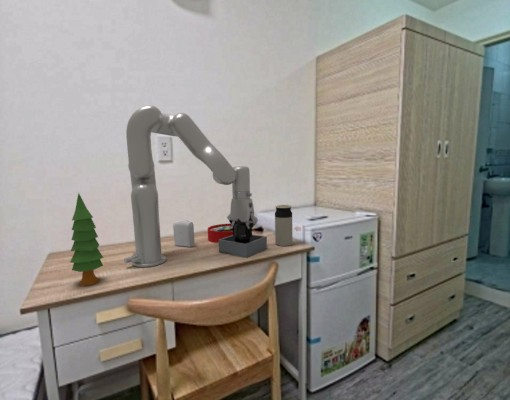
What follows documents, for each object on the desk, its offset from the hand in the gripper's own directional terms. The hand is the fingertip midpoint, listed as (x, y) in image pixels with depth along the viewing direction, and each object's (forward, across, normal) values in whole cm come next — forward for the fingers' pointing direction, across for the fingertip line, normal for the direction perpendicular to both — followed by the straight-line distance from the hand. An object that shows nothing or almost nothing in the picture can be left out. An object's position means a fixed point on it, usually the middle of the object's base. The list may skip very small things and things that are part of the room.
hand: (242, 235), depth 131 cm
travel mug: (+7, -10, -18) cm, 22 cm away
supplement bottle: (+4, 0, 0) cm, 4 cm away
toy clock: (+7, +20, -13) cm, 25 cm away
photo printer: (+7, +29, +8) cm, 31 cm away
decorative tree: (+7, +22, +55) cm, 59 cm away
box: (+7, 0, 0) cm, 7 cm away
